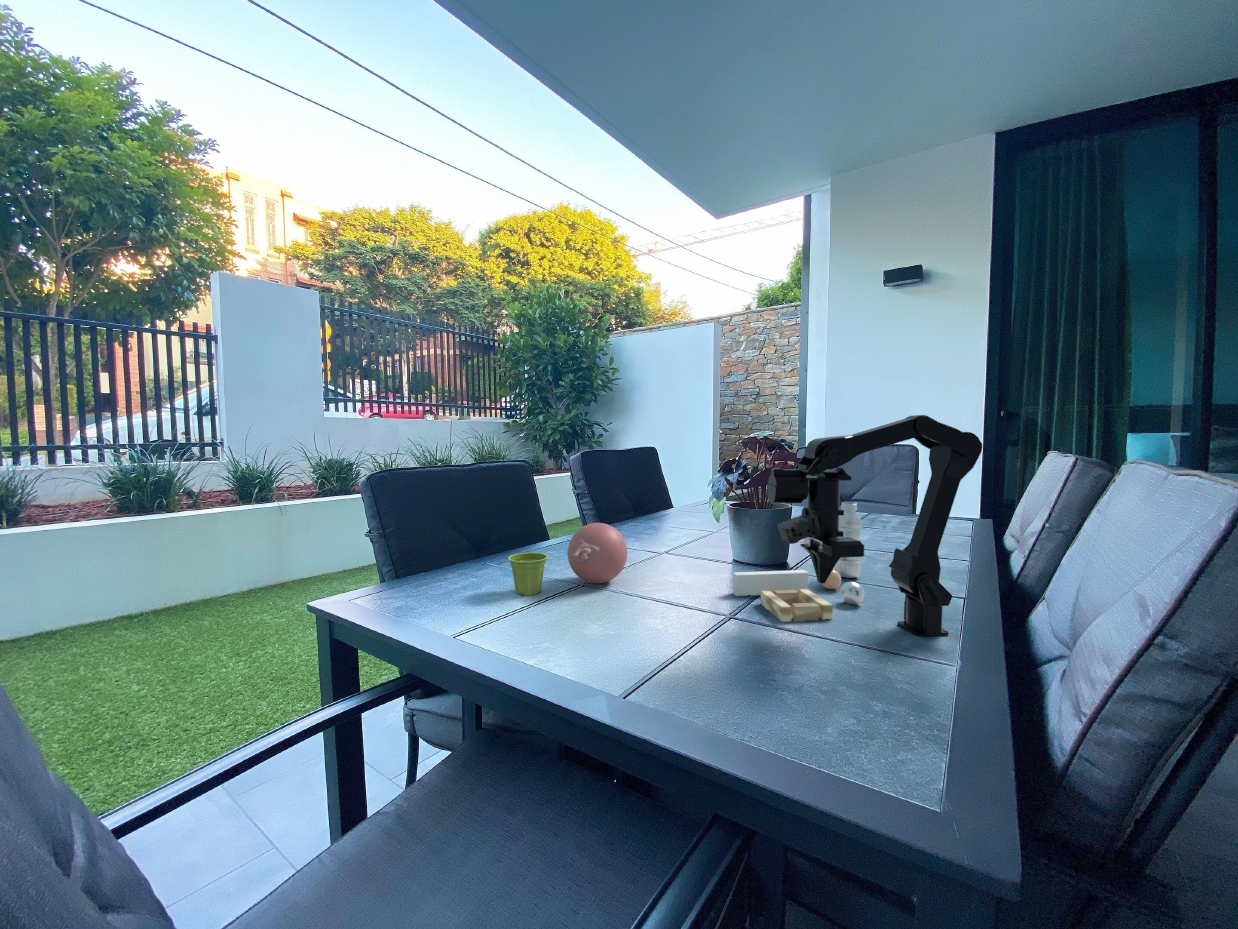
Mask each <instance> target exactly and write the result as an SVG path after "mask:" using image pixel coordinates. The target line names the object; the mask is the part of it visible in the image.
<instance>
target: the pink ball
mask: <svg viewBox="0 0 1238 929" xmlns="http://www.w3.org/2000/svg"><path fill="white" fill-rule="evenodd" d="M567 559H568V564H569V566H570V568H571V570H572V572H573V573H574V574H575V575H576V576H577V577H578V578H580V579H581V580H582V581H585V582H587V583H591V584H605V583H607V582H610V581H612V580H614V579H615V578H616V577H617V576H618V575H620V574H621V572H623V569H624V567H625V566H626V563H627V560H628V546H627V543H626V540H625V538H624V537H623V535H622V533H621V532H619V530H618V529H616V528H615V527H614V526H611V525H609V524H607V523H602V522H592V523H589V524H586V525H583V526H581V528H579V529H578V530H577V531H575V533H574V534H573V535H572V537H571V538H570V540H569V543H568V547H567Z"/></svg>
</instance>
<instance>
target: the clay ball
mask: <svg viewBox="0 0 1238 929" xmlns="http://www.w3.org/2000/svg"><path fill="white" fill-rule="evenodd" d="M820 584H821V585H822V587H823V588H825V589H828V590H836V589H838V588H839V586H840V585H841V584H842V577H841V576H840V574H839V573H838V572H837V571H836V570H835V569H834V568H833V570H832V572H831V573H830V575H829V577H828V579H827V581H826V582H825V583H820Z"/></svg>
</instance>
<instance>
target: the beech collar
mask: <svg viewBox="0 0 1238 929" xmlns="http://www.w3.org/2000/svg"><path fill="white" fill-rule="evenodd" d="M760 605H761V606H763V607H764V609H766V610H767V611H768V610H769V611H768V612H770V613H771V614H772V615H773V616H774V617H775V618H777V619H778V620H779V621H780V622H782V623H783V622H785V623H786V622H792V619H793V620H794V621H795V622H804V621H805V620H808V621H819V620H820V618H821V620H824V621H825V619H829V620H833V617H834V616H833V615H834V613H833V612H834V611H833V610H834V608H833V607H834V604H832V603H830V602H828V601H827V600H826V599H824V598H822V597H821V596H820V595H817V594H816V593H814V592H813V591H811V590H809V588H808V589H799V592H798V591H796V590H774V591H773V593H772V592H771V591H761V595H760ZM805 622H806V621H805Z"/></svg>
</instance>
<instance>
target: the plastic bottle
mask: <svg viewBox="0 0 1238 929" xmlns="http://www.w3.org/2000/svg"><path fill="white" fill-rule="evenodd" d="M840 509H842V510H844V515H839V530H841V531H843V537H850V538H853V539H856V540H859V541H860V539H861V532H862V527H863V523H862V519H861V517H860V515H859V514H858V513H857V511H858V503H857V502H853V501H842V502H841V507H840ZM860 542H861V541H860ZM833 569H834V570H836V571H837V572H838V573H839V574H840V576H841V578H845V577H846V579H851V578H858V577H859V576H860V575H861V573H862V562H861V557H841V558H840V559H839V560H838V562H837V563H836V565H835V567H834V568H833Z"/></svg>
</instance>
